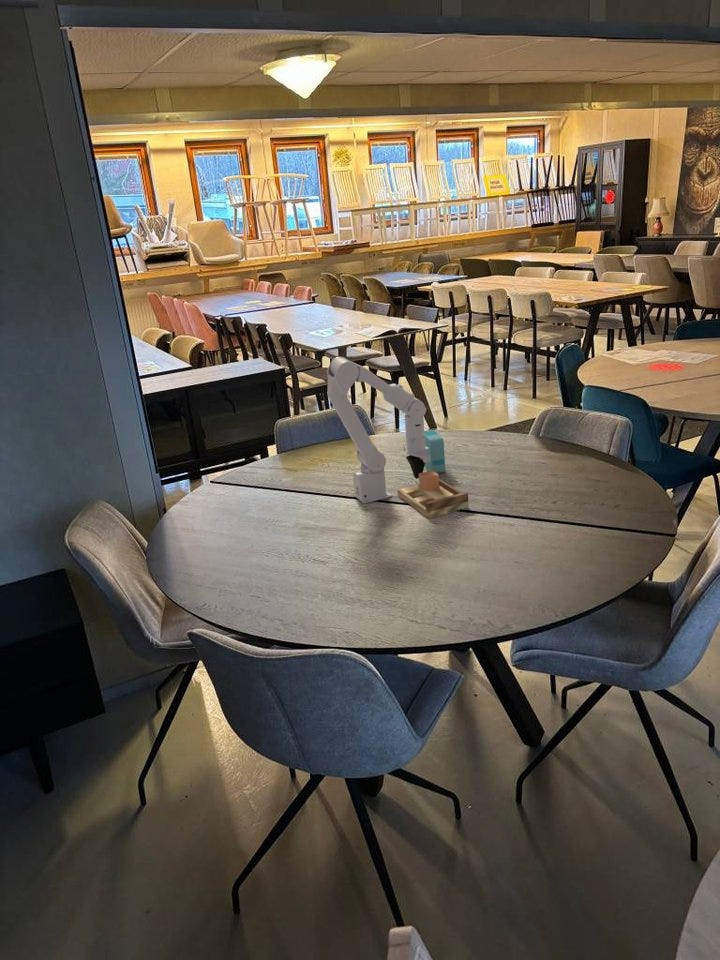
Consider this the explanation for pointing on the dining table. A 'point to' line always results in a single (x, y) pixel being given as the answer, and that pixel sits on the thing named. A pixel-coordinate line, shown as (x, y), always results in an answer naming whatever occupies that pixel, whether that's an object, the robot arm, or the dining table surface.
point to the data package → (435, 451)
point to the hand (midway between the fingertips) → (418, 477)
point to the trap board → (435, 499)
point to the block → (429, 481)
